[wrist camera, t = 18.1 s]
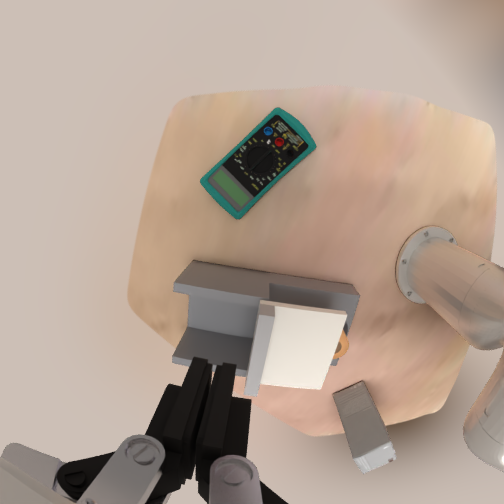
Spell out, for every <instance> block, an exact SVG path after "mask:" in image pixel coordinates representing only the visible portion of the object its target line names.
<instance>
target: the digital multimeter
mask: <svg viewBox="0 0 504 504" xmlns="http://www.w3.org/2000/svg"><path fill="white" fill-rule="evenodd" d="M265 123H266V124H265ZM302 138H303V139H304V140H303V139H302ZM315 148H316V144H315V142H314V140H313V139H312V137H311V135H310V134H309V132H308V131H307V130H306V128H305V127H304V126H303V125H302V124H301V123H300V122H299V121H298V120H297V119H296V118H294V117H293V116H292V115H290V114H289V113H287V112H286V111H284V110H282V109H280V108H275V109H274V110H273V111H272V112H271V113H270V114H269V115H268V116H267V117H266V118H265V119H264V120H263V121H262V122H261V123H260V124H258V125H257V126H256V127H255V128H254V129H253V130H252V131H251V132H250V133H249V134H248V135H247V136H246V137H245V138H244V139H243V140H242V141H241V142H240V143H239V144H238V145H237V146H236V147H234V148H233V149H232V150H231V151H230V152H229V153H228V154H227V155H226V156H225V157H224V158H223V159H222V160H221V161H220V162H218V163H217V164H216V165H215V166H214V167H213V168H212V169H211V170H210V171H209V172H208V173H206V174H205V175H204V176H203V177H202V178H201V180H200V183H201V185H202V186H203V187H204V188H205V189H206V191H207V192H208V193H209V194H210V195H211V196H212V197H213V199H214V200H215V201H216V202H217V203H218V204H219V205H220V206H222V207H223V208H224V209H225V210H226V211H227V212H228V213H229V214H231V215H232V216H233V217H234V218H235V219H240V218H241V217H242V216H243V215H244V214H245V213H246V212H247V211H248V210H249V209H250V208H251V207H252V206H253V205H254V204H255V203H256V202H257V201H258V200H259V199H260V198H261V197H262V196H263V195H264V194H265V193H266V192H267V191H268V190H269V189H270V188H271V187H272V186H273V185H274V184H275V183H276V182H277V181H278V180H279V179H280V178H281V177H283V176H284V175H285V174H286V173H287V172H288V171H289V170H291V169H292V168H293V167H294V166H295V165H296V164H297V163H299V162H300V161H301V160H302V159H303V158H305V157H306V156H307V155H308V154H310V153H311V152H312V151H313V150H314V149H315ZM298 156H299V157H298ZM297 157H298V158H297ZM251 172H252V173H251ZM209 177H210V178H209ZM233 207H234V208H233Z"/></svg>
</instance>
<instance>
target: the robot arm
mask: <svg viewBox="0 0 504 504" xmlns="http://www.w3.org/2000/svg"><path fill="white" fill-rule="evenodd" d="M402 260H403V261H402ZM396 280H397V284H398V286H399V289H400V291H401V292H402V293H403V295H404V296H405V297H406V298H408V299H409V300H410V301H412V302H415V303H420V304H424V303H427V304H428V305H430V306H431V307H432V308H433V309H434V310H435V311H436V312H437V313H438V314H439V315H440V316H441V317H442V318H443V319H444V320H445V321H446V322H447V323H449V324H450V325H451V326H452V327H453V328H454V329H455V330H456V331H457V332H458V333H459V334H460V335H461V336H462V337H463V338H464V339H465V340H466V341H467V342H468V343H469V344H470V345H472V346H473V347H475V348H477V349H480V350H494V349H497V348H501V347H504V268H503V267H500V266H498V265H496V264H494V263H492V262H490V261H488V260H486V259H484V258H482V257H480V256H478V255H476V254H474V253H472V252H470V251H468V250H466V249H464V248H462V247H459V246H458V244H457V242H456V240H455V238H454V237H453V235H452V234H451V233H450V232H449V231H447V230H446V229H443V228H441V227H437V226H428V227H424V228H422V229H420V230H418V231H416V232H415V233H414V234H412V235H411V236H410V238H409V239H408V240H407V241H406V242H405V244H404V245H403V247H402V249H401V251H400V253H399V256H398V260H397V264H396ZM236 367H237V364H231V363H225V362H223V364H222V365H217V366H216V369H215V373H214V377H213V380H212V384H211V379H212V368H213V364H211V363H208V359H204V358H199V357H193V359H192V362H191V364H190V367H189V369H188V372H187V374H186V377H185V379H184V382H183V384H182V387H181V386H177V385H173V384H168V386H167V387H166V389H165V391H164V394H163V396H162V398H161V400H160V402H159V405H158V407H157V409H156V411H155V414H154V416H153V418H152V420H151V422H150V424H149V427H148V429H147V431H146V433H145V435H133V436H131V437H128V438H127V439H126V440H124V441H123V442H122V444H121V445H120V446H119V448H118V449H117V450H116V451H115V452H112V453H108V454H104V455H100V456H95V457H91V458H87V459H82V460H77V461H72V462H68V463H65V462H62V461H61V460H60V459H58V458H55V457H52V456H49V455H47V454H44V453H41V452H39V451H36V450H33V449H31V448H28V447H26V446H24V445H21V444H18V443H11V444H9V445H7V446H6V447H5V449H4V451H3V454H2V456H1V457H0V504H166V503H167V501H168V500H169V497H170V496H171V493H172V492H174V491H176V490H179V489H180V488H181V484H185V481H186V479H192V476H193V471H194V467H195V464H196V481H198V493H199V494H200V496H201V497H202V498H203V499H204V500H205V501H206V502H207V504H288V503H287V502H285V501H284V500H283V499H281V498H280V497H279V496H278V495H277V494H276V493H274V492H273V491H272V490H271V489H269V488H268V487H267V486H266V485H265V484H263V483H262V482H261V481H260V480H259V474H258V470H257V467H256V466H255V465H254V464H253V462H251V461H250V460H248V459H247V458H246V453H247V444H248V433H249V423H250V412H251V399H245V398H238V397H232V392H233V386H234V380H235V374H236ZM463 435H464V440H465V442H466V444H467V446H468V448H469V449H470V450H471V452H472V453H473V454H474V455H475V456H477V457H478V458H479V459H480V460H482V461H483V462H485V463H487V464H489V465H490V466H492V467H494V468H496V469H498V470H500V471H502V472H504V349H503V353H502V356H501V358H500V360H499V362H498V364H497V367H496V369H495V371H494V372H493V374H492V376H491V377H490V379H489V381H488V382H487V384H486V386H485V387H484V389H483V390H482V392H481V393H480V395H479V397H478V398H477V400H476V401H475V403H474V404H473V406H472V408H471V409H470V411H469V413H468V414H467V417H466V419H465V422H464V426H463Z"/></svg>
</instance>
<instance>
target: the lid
mask: <svg viewBox="0 0 504 504" xmlns="http://www.w3.org/2000/svg"><path fill="white" fill-rule="evenodd" d="M346 318H347V313H346V312H345V311H340V310H331V309H323V308H315V307H308V306H300V305H293V304H286V303H279V302H272V301H266V300H260V304H259V309H258V315H257V321H256V326H255V332H254V337H253V343H252V348H251V353H250V359H249V364H248V369H247V375H246V382H245V390H244V395H249V396H256V397H257V394H258V390H259V386H260V384H265V385H273V386H283V387H293V388H305V389H320V390H321V387H322V385H323V382H324V380H325V377H326V375H327V372H328V369H329V367H330V364H331V361H332V359H333V356H334V353H335V350H336V348H337V345H338V342H339V339H340V336H341V333H342V330H343V327H344V324H345V321H346Z"/></svg>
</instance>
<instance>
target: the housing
mask: <svg viewBox="0 0 504 504" xmlns="http://www.w3.org/2000/svg"><path fill="white" fill-rule="evenodd" d="M173 292H177V293H182V294H188V295H189V309H188V327H187V329H186V331H185V333H184V335H183V337H182V338H181V340H180V342H179V344H178V346H177V348H176V350H175V352H174V354H173V356H172V357H173V359H172V362H173V363H175V364H180V365H185V366H189V367H190V364H191V362H192V359H193V357H199V358H204V359H208V363H211V364H213V368H212V371H213V372H215V369H216V366H217V365H222V364H223V362H225V363H231V364H237V367H236V374H235V375H236V376H242V377H246V375H247V369H248V364H249V359H250V353H251V348H252V343H253V337H254V332H255V326H256V321H257V315H258V309H259V304H260V300H266V301H272V302H279V303H286V304H293V305H300V306H308V307H315V308H323V309H331V310H340V311H345V312H346V313H347V318H346V321H345V324H344V327H343V330H342V333H341V336H340V339H339V342H338V345H337V348H336V350H335V353H334V356H333V359H332V361H331V364H330V365H333V366H336V365H337V362H338V360H339V357H341V356H343V355H344V354H345V353H346V352H347V350H348V347H349V342H348V339H347V335H348V332H349V329H350V326H351V323H352V320H353V317H354V314H355V311H356V308H357V304H358V301H359V298H360V295H359V293H358V292H357V291H356V289H355V288H354V286H353V285H351V284H344V283H337V282H330V281H323V280H316V279H309V278H303V277H296V276H289V275H283V274H276V273H270V272H264V271H257V270H251V269H245V268H238V267H232V266H226V265H220V264H214V263H208V262H202V261H196V260H193V261H192V262H191V263H190V264H189V265H188V267H187V268H186V269H185V270H184V271H183V272H182V273H181V275H180V276H179V277H178V278H177V279H176V280H175V282H174V290H173Z"/></svg>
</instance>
